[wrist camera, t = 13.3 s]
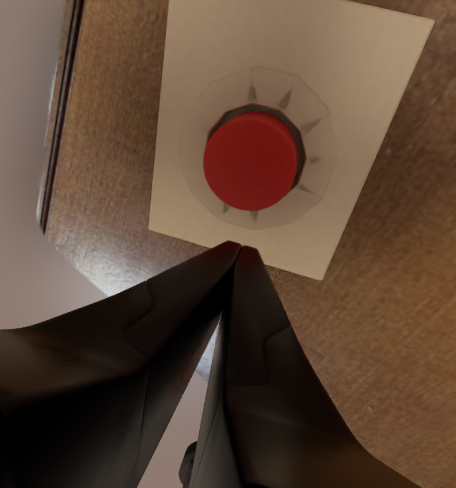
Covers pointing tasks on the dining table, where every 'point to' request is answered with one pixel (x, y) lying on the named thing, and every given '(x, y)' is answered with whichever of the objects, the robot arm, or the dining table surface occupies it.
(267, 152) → the button
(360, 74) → the button box
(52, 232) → the dining table surface
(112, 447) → the robot arm
